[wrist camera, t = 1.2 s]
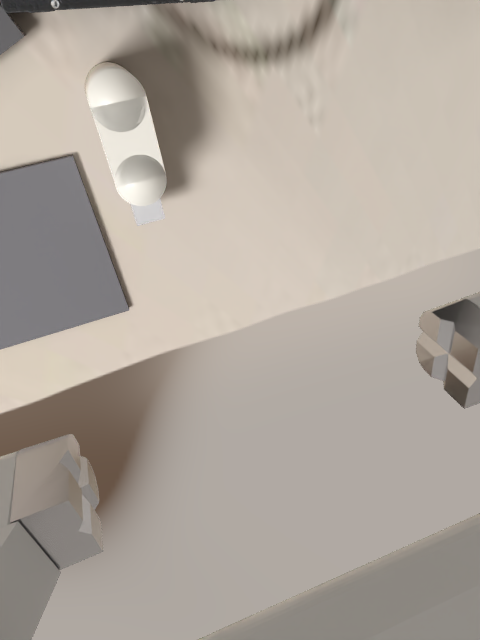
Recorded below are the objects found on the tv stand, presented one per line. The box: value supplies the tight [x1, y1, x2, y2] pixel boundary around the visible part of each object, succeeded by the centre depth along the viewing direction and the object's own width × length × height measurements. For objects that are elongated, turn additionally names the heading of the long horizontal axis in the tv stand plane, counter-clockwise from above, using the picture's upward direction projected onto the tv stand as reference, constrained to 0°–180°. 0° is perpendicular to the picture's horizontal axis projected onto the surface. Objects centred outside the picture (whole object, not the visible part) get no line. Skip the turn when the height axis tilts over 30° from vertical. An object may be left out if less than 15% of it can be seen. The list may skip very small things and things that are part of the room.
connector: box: [85, 62, 167, 226], centre depth 31 cm, size 4×11×5 cm, turn 9°
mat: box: [0, 155, 129, 349], centre depth 36 cm, size 12×14×1 cm
